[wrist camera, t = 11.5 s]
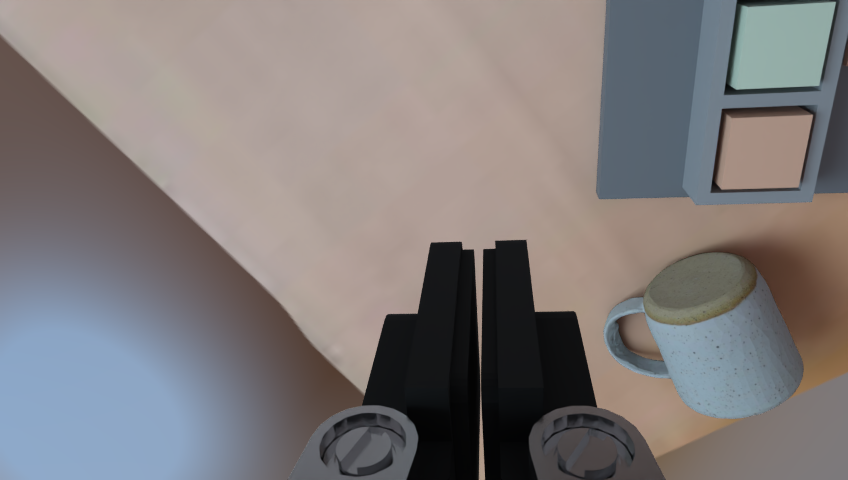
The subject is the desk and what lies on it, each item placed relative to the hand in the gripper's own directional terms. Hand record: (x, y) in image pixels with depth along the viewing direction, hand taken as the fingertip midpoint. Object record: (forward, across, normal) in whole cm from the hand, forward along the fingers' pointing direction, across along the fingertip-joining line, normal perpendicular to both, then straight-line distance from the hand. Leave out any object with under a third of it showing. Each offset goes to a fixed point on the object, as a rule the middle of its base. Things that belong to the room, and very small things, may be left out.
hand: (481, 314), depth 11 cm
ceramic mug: (+29, -13, +19) cm, 37 cm away
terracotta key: (+27, -15, +6) cm, 31 cm away
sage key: (+27, -15, 0) cm, 31 cm away
